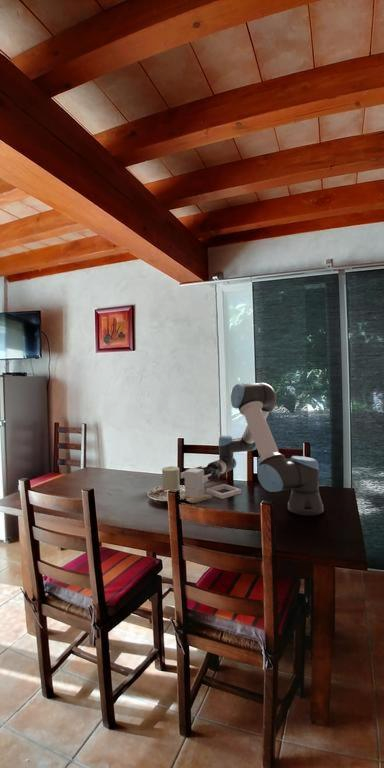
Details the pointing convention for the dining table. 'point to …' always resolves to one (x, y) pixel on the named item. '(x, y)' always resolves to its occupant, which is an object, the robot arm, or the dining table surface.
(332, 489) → the dining table surface
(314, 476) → the robot arm
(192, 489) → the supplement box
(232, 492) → the white flat square frame
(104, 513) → the dining table surface
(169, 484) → the can
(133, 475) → the dining table surface
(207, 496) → the pad
